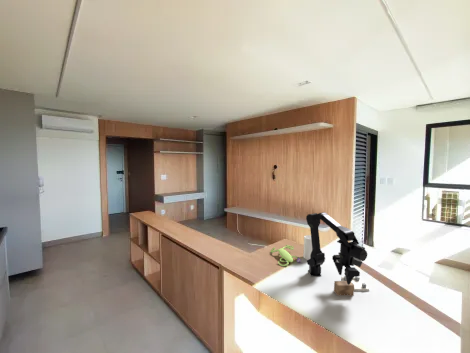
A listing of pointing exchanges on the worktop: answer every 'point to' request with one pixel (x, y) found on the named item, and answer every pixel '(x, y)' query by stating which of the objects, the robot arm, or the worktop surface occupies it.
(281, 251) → the figurine
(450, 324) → the worktop surface
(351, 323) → the worktop surface
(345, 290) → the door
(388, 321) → the worktop surface
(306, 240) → the cup
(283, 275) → the worktop surface
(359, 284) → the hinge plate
